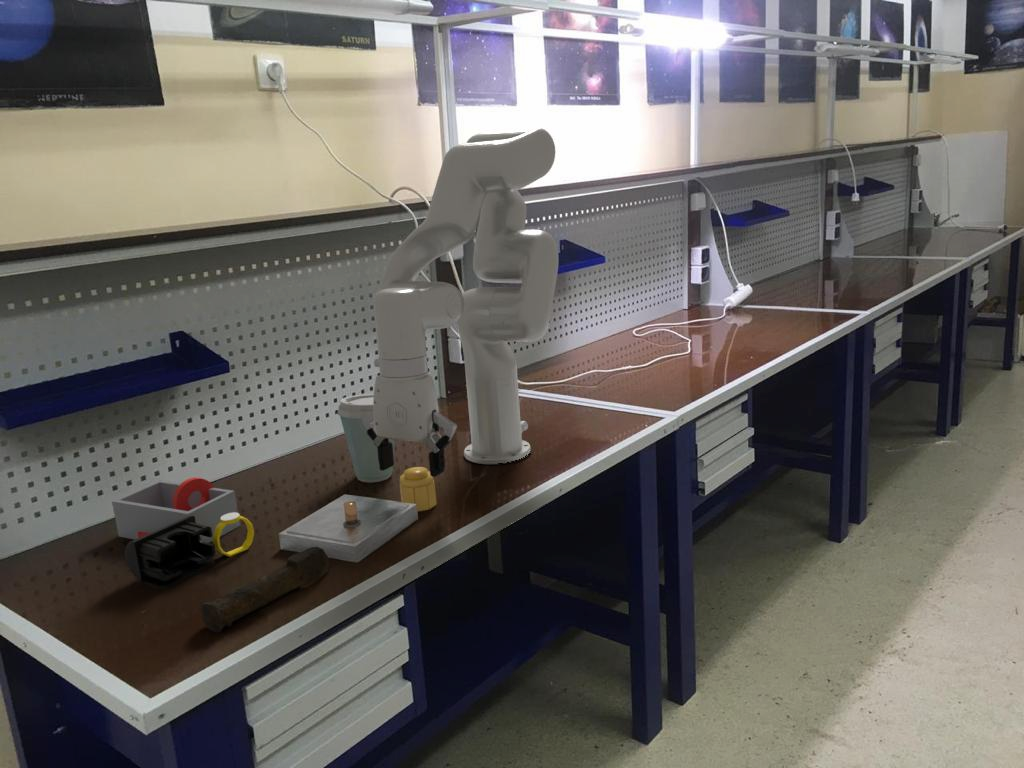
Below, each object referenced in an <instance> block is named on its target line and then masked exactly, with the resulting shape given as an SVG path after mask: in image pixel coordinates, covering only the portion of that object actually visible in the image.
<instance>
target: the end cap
mask: <svg viewBox="0 0 1024 768" xmlns="http://www.w3.org/2000/svg"><path fill="white" fill-rule="evenodd" d="M200 535H202V536H206V537H213V536H212V530H211V527H209V526H205V525H201V524H197V523H196V521H195V516H187V517H185V518H183V519H181V520H178V521H176V522H174V523H172V524H169V525H167V526H165V527H163V528H160V529H158V530H156V531H154V532H151V533H149V534H147V535H145V536H142V537H140V538H138V539H136V540H135V539H132V541H129V543H127V545H126V547H125V550H124V558H125V562H126V566H127V568H128V570H129V571H130V573H131V575H133V577H134V578H136V580H138V581H139V582H141V583H142V584H144V585H146V586H148V587H151V588H154V589H157V590H160V591H166V590H169V589H170V588H172V587H174V586H176V585H179V584H180V583H182V582H184V581H186V580H188V579H190V578H192V577H194V576H195V575H198V574H199V573H203V572H204V571H205V570H207V569H209V568H212V567H213V566H215V565H216V559H214V557H215V555H216V548H215V546H214V544H213V543H211V542H210V543H206V542H203V541H202V540H201V538H200Z"/></svg>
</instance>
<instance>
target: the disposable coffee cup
mask: <svg viewBox="0 0 1024 768" xmlns="http://www.w3.org/2000/svg"><path fill="white" fill-rule="evenodd" d="M373 400H374V393H365V394H355V395H350V396H345V397H343V398H341V399H340V401H339V402H340V403H339V404H338V406H337V407H338V408H337V409H338V411H337V415H338V416H339V417H340V420H341V425H342V427H343V428H342V429H343V432H344V436H345V440H346V444H347V447H348V452H349V456H350V459H351V464H352V467H353V470H354V471H353V472H354V474H355V477H356V478H357V480H358V481H360V482H362V483H369V484H371V483H378V482H382V481H386V480H388V479H389V478H390V477H392V473H393V472H394V465H393V466H392V467H390V468H388V469H386V470H384V471H382V470H380V467H379V461H378V450H377V447H376V446H374V444H373V440H372V439H371V438H370V437H369V435H368V434H367V429H366V428H365V426H364V424H363V422H362V418H363V417H365V416H367V415H369V414H370V413H372V412H373ZM389 442H392V446H393V458H394V457H395V456H394V455H395V454H394V452H395V439H390V440H389Z"/></svg>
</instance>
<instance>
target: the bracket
mask: <svg viewBox="0 0 1024 768" xmlns="http://www.w3.org/2000/svg"><path fill="white" fill-rule="evenodd" d="M180 483H181V484H180V485H179V486H178V488H177V489H176V491H175V493H174V497H173V507H174V509H177V510H183V511H190V510H192V509H194V508H196V507H198V506H200V505H202V504H204V503H206V502H208V501H210V497H209V491H208V489H210V488H215V485H214V484H213V483H212V482H210V481H209V480H207V479H205V478H202V477H197V476H195V477H190V478H187V479H185V480H184V481H182V482H180ZM195 491H200V493H201V495H202V498H201V501H200V503H199V504H198V505H197V506H195V507H190V506H189V503H188V499H189V496H190V495H191V494H192V493H193V492H195ZM147 534H149V533H144V532H138V538H140V537H142V536H145V535H147Z"/></svg>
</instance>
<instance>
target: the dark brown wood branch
mask: <svg viewBox="0 0 1024 768" xmlns="http://www.w3.org/2000/svg"><path fill="white" fill-rule="evenodd" d="M330 570H331V566H330V558H328V556H327V555H326V553H325V552H324V550H323V549H322V548H320V547H311V548H308V549H306V550H305V551H301V552H295V553H293V554H292V555H290V556H289V557H287V560H286V564H285V565H282V566H281V567H279V568H277V569H276V570H274V571H271V572H270V573H268V574H266V575H263V576H262V577H259V578H258V579H255V580H253V581H252V582H249V583H248V584H245V585H244V586H242V587H238V588H236V589H234V590H233V591H230V592H229V593H227V594H224V595H221V596H220V597H218V598H216V599H214V600H212V601H206V602H202V603H201V605H200V611H201V616H202V622H203V623H204V625H205V627H206V628H207V629H208V630H210V631H212V632H214V633H218V634H219V633H221V632H222V630H223V629H224V628H226V627H229V628H231V626H233V622H235V621H237V620H239V619H240V618H243V617H245V616H247V615H248V614H250V613H252V612H253V611H256V610H257V609H260V608H261V607H264V606H266V605H268V604H269V603H271V602H273V601H275V600H277V599H279V598H280V597H282V596H284V595H286V594H288V593H289V592H291V591H294V590H301V591H302V590H305V589H307V588H309V587H310V586H312V585H313V584H315V583H316V582H318V581H319V580H320V579H322V577H324V576H325V575H326V574H328V572H329V571H330Z"/></svg>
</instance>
